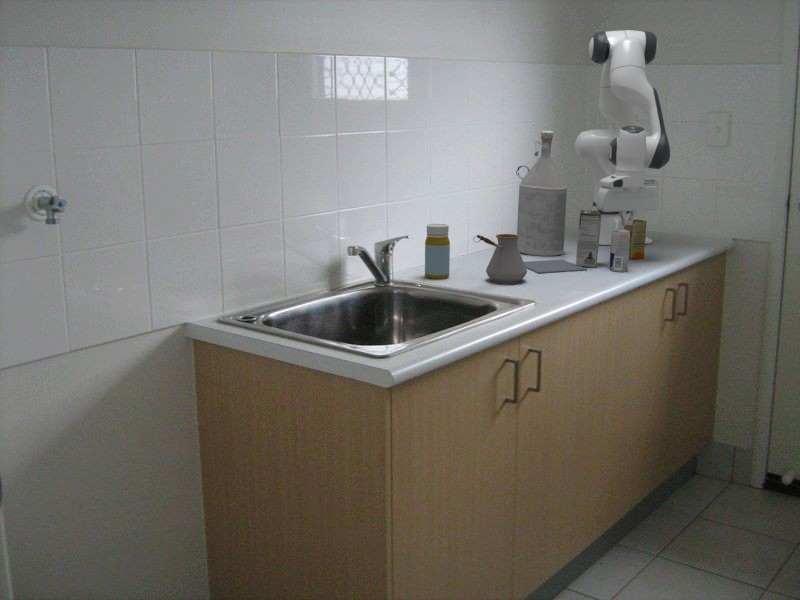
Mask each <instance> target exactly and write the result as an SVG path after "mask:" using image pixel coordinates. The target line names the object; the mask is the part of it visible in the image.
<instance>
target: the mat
mask: <svg viewBox="0 0 800 600" xmlns="http://www.w3.org/2000/svg"><path fill="white" fill-rule="evenodd" d="M523 262H524V264H525V267H526V270H529V271H532V272H534V273H536V274H541V275H542V274H553V273H566V272H567V273H568V272H586V271H588V268H585V267H584V266H576V263H573V262H569V261H567V260H566V259H548V260H545V259H544V260H532V261H523Z"/></svg>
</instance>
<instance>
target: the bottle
mask: <svg viewBox="0 0 800 600" xmlns="http://www.w3.org/2000/svg"><path fill="white" fill-rule="evenodd" d="M449 230H450V229H449V225H448V224H445V223H430V224H429V223H428V224H427V225H426V239H425V242H424V276H425V277H426V278H427V279H430V278H431V280H445V279H447V278H449V276H450V260H451V258H450V255H451V253H450V250H451V249H450V247H451V244H450V238H449ZM444 278H445V279H444Z"/></svg>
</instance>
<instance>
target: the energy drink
mask: <svg viewBox="0 0 800 600" xmlns="http://www.w3.org/2000/svg"><path fill="white" fill-rule="evenodd" d="M629 243H630V232H629V230H624V229H615V230H612V233H611V245H610V249H609V250H610V255H609V268H608V269H609V270H610V271H611V272H615V273H616V272H617V273H625V272H627V271H629V260H630V259H629Z"/></svg>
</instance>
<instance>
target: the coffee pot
mask: <svg viewBox="0 0 800 600" xmlns="http://www.w3.org/2000/svg"><path fill="white" fill-rule="evenodd" d="M475 238H478V239H479V240H478V241H475ZM495 238H496V239H497V243H495V242H494V241H492V240H491V239H490V238H488V237H484V236H483V235H479V234H477V235H475V236H474V237H473V239H472V240H473V243H477V244H478V243H479V242H480V241H483V242H484V243H485V244H488V245H490V246H494V247H495V248H494V252H493V254H492V256H491V258H490V260H489V262H488V265H487V267H486V269H485V271H486V274H487V276H488V277H489V278H490V279H492V282H494V283H497V284H516V283H519V282H521V280H523V279H524V278H525V277H526V275H527V273H528V269H527V268H526V267H525V264H524V262H525V261H524V260H523V256H522V253H521V252H520V251H519V249H518V246H517V244H516V243H517V239H518V238H519V236H518V235H517V234H513V233H512V234H511V233H509V234H508V233H502V234H496V235H495Z"/></svg>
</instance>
